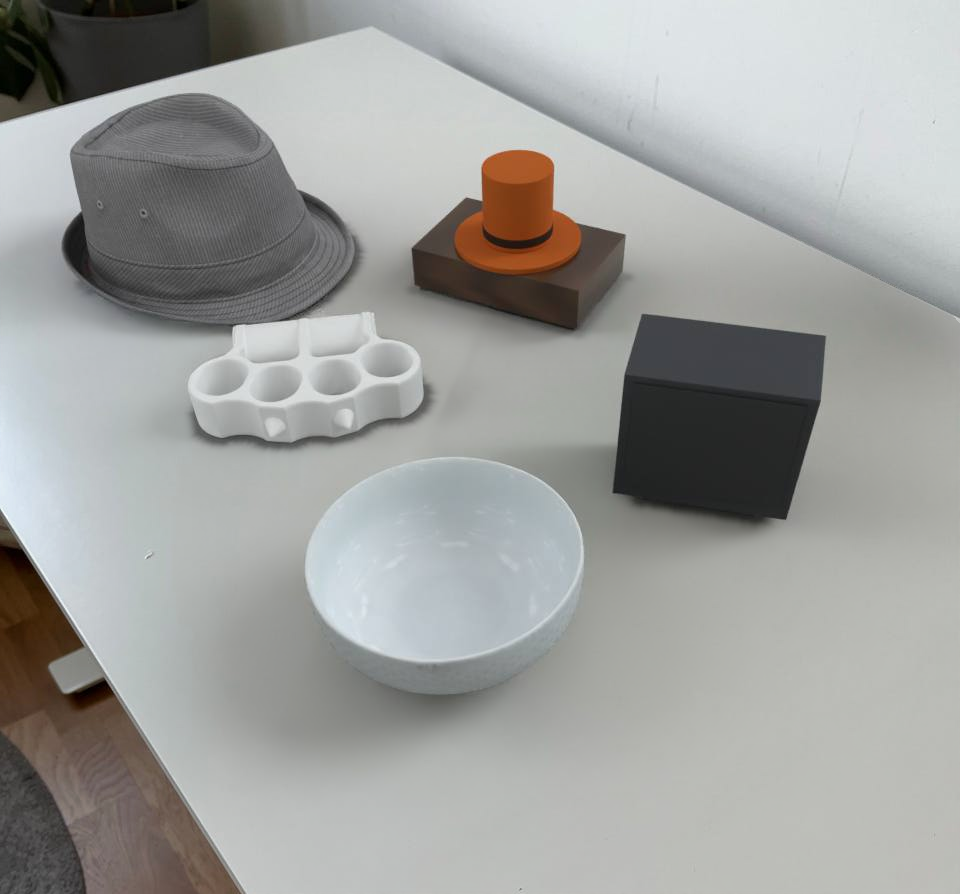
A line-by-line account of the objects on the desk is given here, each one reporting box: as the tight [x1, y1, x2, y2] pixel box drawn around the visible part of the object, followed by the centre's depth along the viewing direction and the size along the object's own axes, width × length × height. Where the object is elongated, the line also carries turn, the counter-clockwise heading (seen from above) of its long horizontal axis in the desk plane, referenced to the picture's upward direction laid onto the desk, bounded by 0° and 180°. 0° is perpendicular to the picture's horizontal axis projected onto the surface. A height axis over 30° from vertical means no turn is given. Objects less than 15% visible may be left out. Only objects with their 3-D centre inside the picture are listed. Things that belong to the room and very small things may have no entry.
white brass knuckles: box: [187, 311, 425, 444], centre depth 78 cm, size 3×18×15 cm
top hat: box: [455, 149, 581, 275], centre depth 83 cm, size 11×11×6 cm
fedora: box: [60, 92, 356, 327], centre depth 88 cm, size 24×27×12 cm
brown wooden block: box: [411, 196, 627, 330], centre depth 87 cm, size 16×10×4 cm, turn 62°
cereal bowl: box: [303, 456, 586, 696], centre depth 61 cm, size 17×17×7 cm
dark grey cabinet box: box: [612, 313, 827, 521], centre depth 67 cm, size 7×12×11 cm, turn 75°
